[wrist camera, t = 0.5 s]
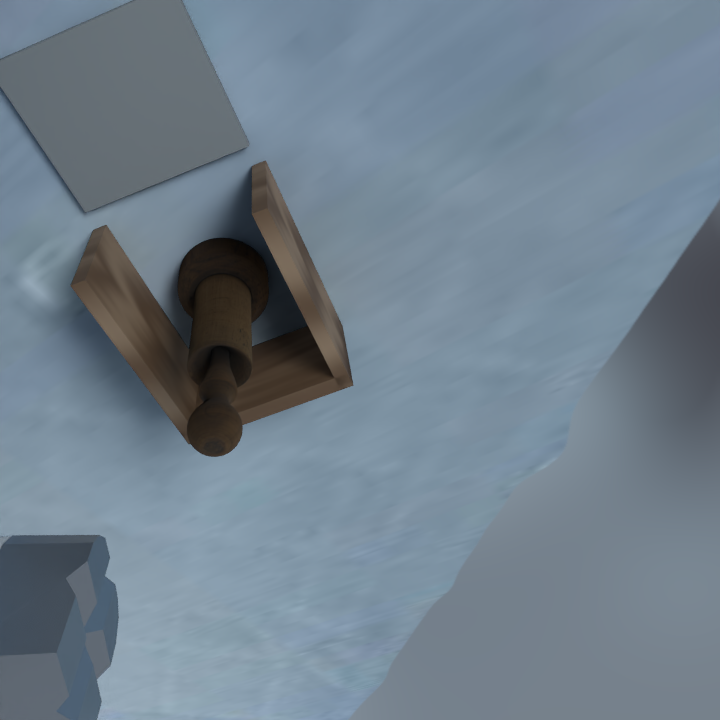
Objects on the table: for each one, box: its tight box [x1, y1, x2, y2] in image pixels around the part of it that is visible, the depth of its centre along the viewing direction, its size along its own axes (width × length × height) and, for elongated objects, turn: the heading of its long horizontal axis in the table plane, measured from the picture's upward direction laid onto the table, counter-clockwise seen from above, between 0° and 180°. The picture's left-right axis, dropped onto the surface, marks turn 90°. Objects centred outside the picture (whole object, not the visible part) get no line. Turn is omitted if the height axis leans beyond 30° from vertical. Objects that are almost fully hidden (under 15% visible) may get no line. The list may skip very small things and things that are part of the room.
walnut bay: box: [71, 161, 353, 444], centre depth 48 cm, size 15×13×8 cm
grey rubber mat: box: [0, 0, 249, 213], centre depth 42 cm, size 10×12×1 cm
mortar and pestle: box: [178, 238, 269, 457], centre depth 44 cm, size 7×6×18 cm
